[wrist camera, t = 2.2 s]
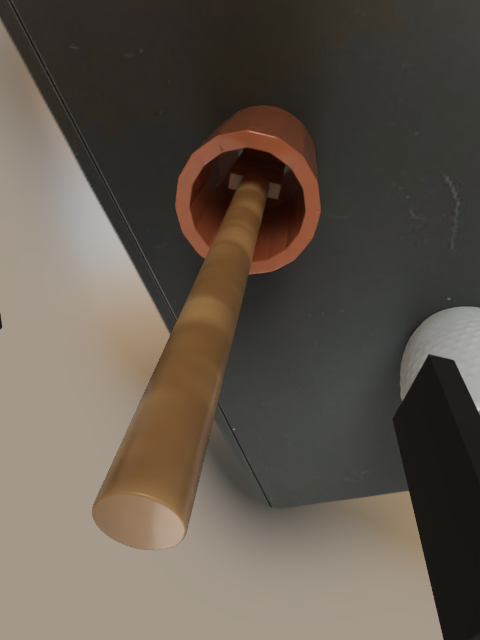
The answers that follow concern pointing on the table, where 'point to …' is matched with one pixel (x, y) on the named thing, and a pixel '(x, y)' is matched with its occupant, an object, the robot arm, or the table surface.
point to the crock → (215, 197)
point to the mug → (446, 347)
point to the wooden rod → (186, 382)
